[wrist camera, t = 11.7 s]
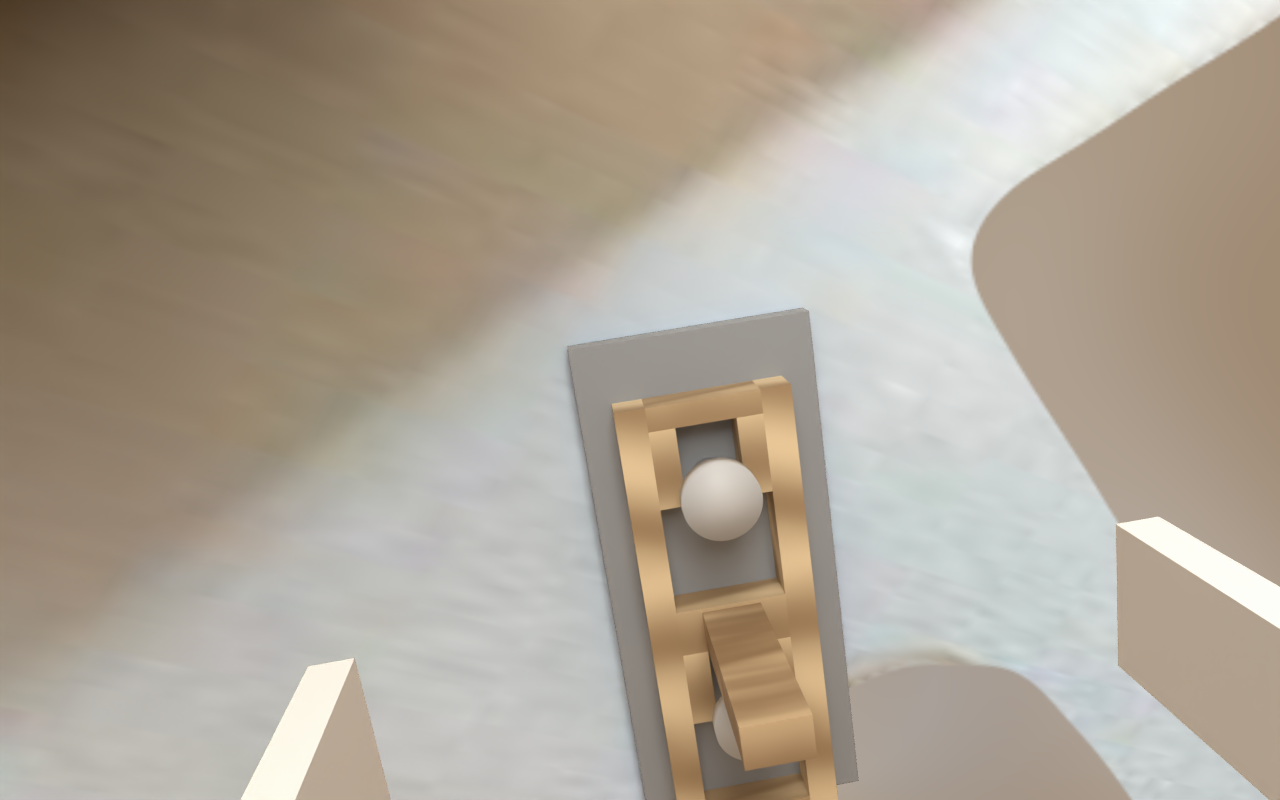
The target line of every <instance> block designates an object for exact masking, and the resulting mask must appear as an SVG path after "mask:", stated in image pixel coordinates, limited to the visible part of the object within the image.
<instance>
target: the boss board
mask: <svg viewBox="0 0 1280 800" xmlns="http://www.w3.org/2000/svg"><path fill="white" fill-rule="evenodd" d="M568 355H569V361H570V367H571V373H572V378H573V384H574V390H575V396H576V401H577V407H578V413H579V419H580V424H581V430H582V436H583V442H584V448H585V453H586V459H587V465H588V471H589V476H590V482H591V488H592V494H593V499H594V505H595V511H596V517H597V522H598V528H599V534H600V540H601V545H602V551H603V557H604V563H605V569H606V574H607V580H608V586H609V592H610V597H611V603H612V609H613V615H614V620H615V626H616V632H617V638H618V643H619V649H620V655H621V661H622V667H623V672H624V678H625V684H626V690H627V695H628V701H629V707H630V713H631V718H632V724H633V730H634V736H635V741H636V747H637V753H638V759H639V765H640V770H641V776H642V782H643V788H644V793H645V799H646V800H676V794H675V788H674V782H673V776H672V770H671V763H670V757H669V751H668V745H667V739H666V733H665V727H664V721H663V715H662V709H661V703H660V696H659V690H658V684H657V678H656V672H655V666H654V660H653V654H652V648H651V642H650V635H649V629H648V623H647V617H646V611H645V605H644V599H643V593H642V587H641V581H640V575H639V568H638V562H637V556H636V550H635V544H634V538H633V532H632V526H631V520H630V514H629V507H628V501H627V495H626V489H625V483H624V477H623V471H622V465H621V459H620V453H619V446H618V440H617V434H616V428H615V422H614V416H613V410H612V404H614V403H620V402H626V401H632V400H638V399H644V398H650V397H656V396H662V395H668V394H674V393H680V392H686V391H692V390H698V389H704V388H710V387H716V386H722V385H728V384H734V383H740V382H746V381H752V380H758V379H764V378H770V377H776V376H782V377H784V378H785V379H786V380H787V381H788V382H789V383H790V384H791V388H792V397H793V406H794V415H795V424H796V433H797V441H798V450H799V459H800V468H801V477H802V486H803V494H804V503H805V512H806V521H807V530H808V539H809V547H810V556H811V565H812V574H813V583H814V591H815V600H816V609H817V618H818V627H819V636H820V644H821V653H822V662H823V671H824V680H825V689H826V697H827V706H828V715H829V724H830V733H831V742H832V750H833V759H834V768H835V777H836V785H839V784H844V783H850V782H855V781H858V771H857V762H856V752H855V743H854V734H853V725H852V714H851V705H850V696H849V686H848V677H847V667H846V658H845V648H844V639H843V630H842V620H841V611H840V601H839V592H838V582H837V573H836V563H835V554H834V545H833V535H832V526H831V516H830V507H829V497H828V488H827V479H826V469H825V460H824V450H823V441H822V431H821V422H820V413H819V403H818V394H817V384H816V375H815V365H814V356H813V347H812V337H811V328H810V318H809V311H808V310H806V309H804V308H798V309H792V310H786V311H780V312H774V313H768V314H762V315H756V316H749V317H743V318H737V319H731V320H725V321H719V322H713V323H707V324H700V325H694V326H688V327H682V328H676V329H670V330H664V331H658V332H652V333H645V334H639V335H633V336H627V337H621V338H615V339H609V340H603V341H596V342H590V343H584V344H578V345H572V346H568ZM675 430H676V437H677V444H678V451H679V457H680V464H681V471H682V478H683V483H682V485H681V489H680V505H681V507H677V508H672V509H666V510H661V517H662V523H663V530H664V536H665V543H666V549H667V556H668V562H669V568H670V575H671V581H672V588H673V594H674V596H675V595H681V594H686V593H692V592H698V591H704V590H709V589H715V588H721V587H726V586H732V585H738V584H743V583H749V582H755V581H760V580H766V579H772V578H776V570H775V562H774V554H773V546H772V538H771V530H770V522H769V514H768V506H767V498H766V492H765V493H762V490H761V487H760V485H759V483H758V481H757V480H756V478H755V477H754V475H753V474H752V472H751V471H750V470H749V469H748V468H747V467H746V466H745V465H744V464H742V463H741V462H739V461H736V454H735V446H734V439H733V431H732V424H731V419H727V420H721V421H715V422H709V423H703V424H697V425H692V426H686V427H680V428H675ZM708 654H709V651H708ZM709 661H710V668H711V675H712V681H713V688H714V695H715V702H716V705H715V707H714V710H713V717H712V720H713V721H709V722H703V723H698V724H694V730H695V736H696V743H697V749H698V756H699V762H700V768H701V775H702V781H703V788H704V791H706V790H711V789H716V788H722V787H727V786H733V785H738V784H743V783H749V782H754V781H760V780H765V779H770V778H776V777H781V776H787V775H792V774H797V773H801V772H800V764H799V761H797V762H791V763H786V764H781V765H775V766H770V767H764V768H759V769H754V770H748V771H745V769H744V766H743V763H742V760H741V756H740V753H739V750H738V746H737V743H736V740H735V736H734V733H733V730H732V727H731V723H730V720H729V717H728V713H727V710H726V707H725V704H724V700H723V697H722V694H721V690H720V687H719V684H718V681H717V677H716V674H715V671H714V667H713V664H712V661H711V658H710V654H709Z"/></svg>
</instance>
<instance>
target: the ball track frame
mask: <svg viewBox="0 0 1280 800" xmlns="http://www.w3.org/2000/svg"><path fill="white" fill-rule="evenodd" d="M612 410H613V416H614V422H615V428H616V434H617V440H618V446H619V453H620V459H621V465H622V471H623V477H624V483H625V489H626V495H627V501H628V507H629V514H630V520H631V526H632V532H633V538H634V544H635V550H636V556H637V562H638V568H639V575H640V581H641V587H642V593H643V599H644V605H645V611H646V617H647V623H648V629H649V635H650V642H651V648H652V654H653V660H654V666H655V672H656V678H657V684H658V690H659V696H660V703H661V709H662V715H663V721H664V727H665V733H666V739H667V745H668V751H669V757H670V763H671V770H672V776H673V782H674V788H675V794H676V800H838V795H837V786H836V777H835V768H834V759H833V750H832V742H831V733H830V724H829V715H828V706H827V697H826V689H825V680H824V671H823V662H822V653H821V644H820V636H819V627H818V618H817V609H816V600H815V591H814V583H813V574H812V565H811V556H810V547H809V539H808V530H807V521H806V512H805V503H804V494H803V486H802V477H801V468H800V459H799V450H798V441H797V433H796V424H795V415H794V406H793V397H792V388H791V384H790V383H789V382H788V381H787V380H786V379H785V378H784V377H782V376H776V377H770V378H764V379H758V380H752V381H746V382H740V383H734V384H728V385H722V386H716V387H710V388H704V389H698V390H692V391H686V392H680V393H674V394H668V395H662V396H656V397H650V398H644V399H638V400H632V401H626V402H620V403H614V404H612ZM727 419H731V424H732V431H733V439H734V446H735V454H736V461H739V462H741V463H742V464H744V465H745V466H746V467H747V468H748V469H749V470H750V471H751V472H752V474H753V475H754V477H755V478H756V480H757V481H758V483H759V485H760V487H761V490H762V493H765V492H766V498H767V506H768V514H769V522H770V530H771V538H772V546H773V554H774V562H775V570H776V578H772V579H766V580H760V581H755V582H749V583H743V584H738V585H732V586H726V587H721V588H715V589H709V590H704V591H698V592H692V593H686V594H681V595H675V596H674V594H673V588H672V581H671V575H670V568H669V562H668V556H667V549H666V543H665V536H664V530H663V523H662V517H661V510H666V509H672V508H677V507H681V505H680V489H681V485H682V483H683V478H682V471H681V464H680V457H679V451H678V444H677V437H676V430H675V428H680V427H686V426H692V425H697V424H703V423H709V422H715V421H721V420H727ZM708 651H709V654H710V658H711V661H712V664H713V667H714V671H715V674H716V677H717V681H718V684H719V687H720V690H721V694H722V697H723V700H724V704H725V707H726V710H727V713H728V717H729V720H730V723H731V727H732V730H733V733H734V736H735V740H736V743H737V746H738V750H739V753H740V756H741V760H742V763H743V766H744V769H745V771H748V770H754V769H759V768H764V767H770V766H775V765H781V764H786V763H791V762H797V761H799V764H800V772H801V773H797V774H792V775H787V776H781V777H776V778H770V779H765V780H760V781H754V782H749V783H743V784H738V785H733V786H727V787H722V788H716V789H711V790H706V791H704V788H703V781H702V775H701V768H700V762H699V756H698V749H697V743H696V736H695V730H694V724H698V723H703V722H709V721H713V720H712V717H713V710H714V707H715V705H716V702H715V695H714V688H713V681H712V675H711V668H710V661H709V654H708Z"/></svg>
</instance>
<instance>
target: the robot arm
mask: <svg viewBox="0 0 1280 800" xmlns="http://www.w3.org/2000/svg"><path fill="white" fill-rule="evenodd" d="M1116 553H1117V620H1118V666H1119V667H1121V668H1122V669H1123V670H1124V671H1125V672H1126V673H1127V674H1128V675H1130V676H1131V677H1132V678H1133V679H1134V680H1135V681H1136V682H1137V683H1139V684H1140V685H1141V686H1142V687H1143V688H1144V689H1145V690H1146V691H1148V692H1149V693H1150V694H1151V695H1152V696H1153V697H1154V698H1155V699H1157V700H1158V701H1159V702H1160V703H1161V704H1162V705H1163V706H1164V707H1166V708H1167V709H1168V710H1169V711H1170V712H1171V713H1172V714H1173V715H1175V716H1176V717H1177V718H1178V719H1179V720H1180V721H1181V722H1182V723H1184V724H1185V725H1186V726H1187V727H1188V728H1189V729H1190V730H1191V731H1193V732H1194V733H1195V734H1196V735H1197V736H1198V737H1199V738H1200V739H1202V740H1203V741H1204V742H1205V743H1206V744H1207V745H1208V746H1209V747H1211V748H1212V749H1213V750H1214V751H1215V752H1216V753H1217V754H1218V755H1220V756H1221V757H1222V758H1223V759H1224V760H1225V761H1226V762H1227V763H1229V764H1230V765H1231V766H1232V767H1233V768H1234V769H1235V770H1236V771H1238V772H1239V773H1240V774H1241V775H1242V776H1243V777H1244V778H1245V779H1247V780H1248V781H1249V782H1250V783H1251V784H1252V785H1253V786H1254V787H1256V788H1257V789H1258V790H1259V791H1260V792H1261V793H1262V794H1263V795H1265V796H1266V797H1267V798H1268V799H1269V800H1280V587H1279V586H1277V585H1275V584H1274V583H1272V582H1270V581H1269V580H1267V579H1265V578H1263V577H1262V576H1260V575H1258V574H1256V573H1255V572H1253V571H1251V570H1250V569H1248V568H1246V567H1244V566H1243V565H1241V564H1239V563H1237V562H1236V561H1234V560H1232V559H1231V558H1229V557H1227V556H1225V555H1224V554H1222V553H1220V552H1219V551H1217V550H1215V549H1213V548H1212V547H1210V546H1208V545H1206V544H1205V543H1203V542H1201V541H1200V540H1198V539H1196V538H1194V537H1192V536H1191V535H1189V534H1188V533H1186V532H1184V531H1182V530H1181V529H1179V528H1177V527H1175V526H1174V525H1172V524H1170V523H1168V522H1167V521H1165V520H1163V519H1162V518H1160V517H1155V518H1149V519H1144V520H1138V521H1132V522H1126V523H1121V524H1116ZM241 800H390V795H389V791H388V787H387V783H386V779H385V775H384V772H383V768H382V764H381V760H380V756H379V752H378V748H377V744H376V740H375V736H374V732H373V729H372V725H371V721H370V717H369V713H368V709H367V705H366V701H365V697H364V693H363V689H362V685H361V682H360V678H359V674H358V670H357V666H356V662H355V658H353V659H347V660H341V661H336V662H330V663H324V664H318V665H313V666H308V668H307V670H306V672H305V674H304V676H303V678H302V680H301V682H300V684H299V686H298V688H297V690H296V691H295V693H294V695H293V697H292V699H291V701H290V703H289V705H288V707H287V709H286V711H285V713H284V715H283V717H282V719H281V721H280V723H279V725H278V727H277V729H276V731H275V733H274V735H273V737H272V739H271V741H270V743H269V745H268V747H267V749H266V751H265V753H264V755H263V757H262V759H261V761H260V763H259V765H258V767H257V769H256V771H255V772H254V774H253V776H252V778H251V780H250V782H249V784H248V786H247V788H246V790H245V792H244V794H243V796H242V798H241Z"/></svg>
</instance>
